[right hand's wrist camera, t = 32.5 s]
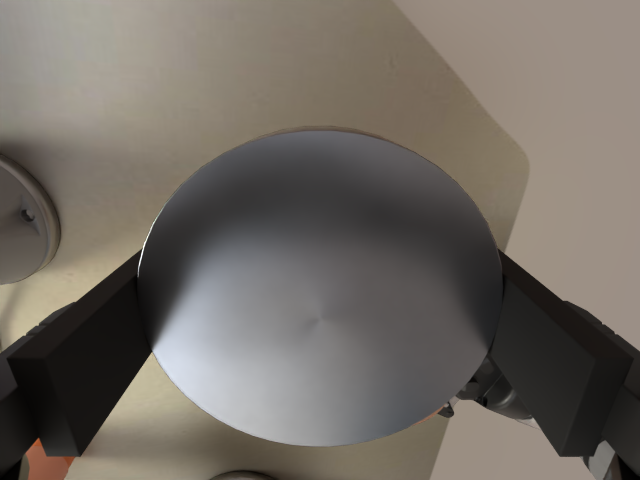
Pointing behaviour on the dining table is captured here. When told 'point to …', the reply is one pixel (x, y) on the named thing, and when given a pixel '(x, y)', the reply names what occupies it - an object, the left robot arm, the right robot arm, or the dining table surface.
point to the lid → (320, 287)
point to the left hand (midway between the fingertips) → (344, 311)
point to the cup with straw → (46, 464)
